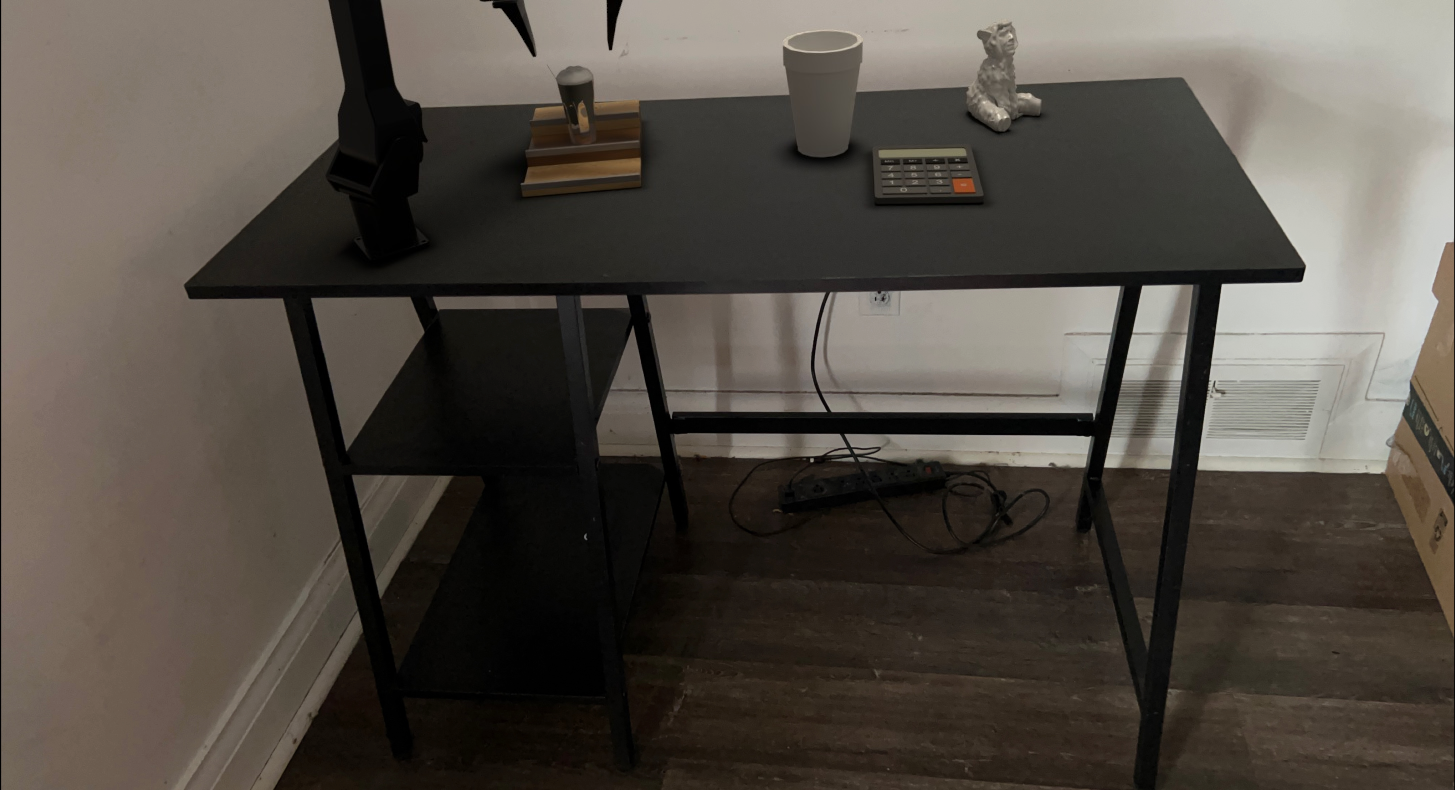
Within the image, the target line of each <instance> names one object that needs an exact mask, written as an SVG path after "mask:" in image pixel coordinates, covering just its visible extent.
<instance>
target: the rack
mask: <svg viewBox="0 0 1455 790" xmlns="http://www.w3.org/2000/svg"><path fill="white" fill-rule="evenodd" d="M641 111H642V110H641V105H640V99H630V100H616V101H604V102H595V114H596V128H597V140H596V142H594V143H592V144H589V145H575V144H573V143H572V142H571V138H570V133H569V129H568V125H567V121H566V117H565V112H564V108H563V105H558V106H545V107H536V108H535V110H534V113H533V117H532V119H529V121H528V122H529V127H530V133H531V139H530V143H529V147H528V149H525V151H524V153H525V158H526V164H527V170H526V174H525V179H524V182H521V183H520V189H521V193H522V197H523V198H526V197H527V198H528V197H539V196H550V195H551V196H552V195H562V194H574V193H575V194H576V193H585V192H587V193H588V192H597V191H609V190H619V189H632V188H633V189H634V188H641V187H642V149H643V147H642V144H643V143H642V142H643V141H642V139H643V136H642V135H643V134H642V133H643V132H642V130H643V129H642V128H643V121H642V113H641Z"/></svg>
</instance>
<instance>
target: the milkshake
mask: <svg viewBox="0 0 1455 790" xmlns="http://www.w3.org/2000/svg"><path fill="white" fill-rule="evenodd" d="M546 67H548V69H549V71H550V72H551V74H552V76H553V77H554V79H555V82H556V85H557V88H558V91H559V96H560V99H561V103H562V106H563V108H564V112H565V117H566V121H567V125H568V129H569V133H570V138H571V142H572V143H573V144H575V145H589V144H592V143H594V142H596V140H597V128H596V114H595V103H596V101H595V100H596V99H595V79H594V78H595V77H594V73H593V72H592V71H591V70H590V69H589V68H588V67H584V66H582V65H568V66H567V67H566V68H565V69H562V70H560V71H559V72H558V74H557V75H556V76H555V74H554V73H553V71H552V70H551V69H550V67H549V65H548V64H546Z"/></svg>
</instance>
